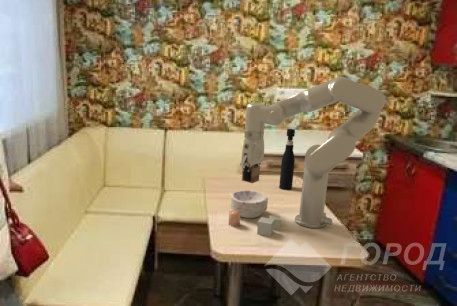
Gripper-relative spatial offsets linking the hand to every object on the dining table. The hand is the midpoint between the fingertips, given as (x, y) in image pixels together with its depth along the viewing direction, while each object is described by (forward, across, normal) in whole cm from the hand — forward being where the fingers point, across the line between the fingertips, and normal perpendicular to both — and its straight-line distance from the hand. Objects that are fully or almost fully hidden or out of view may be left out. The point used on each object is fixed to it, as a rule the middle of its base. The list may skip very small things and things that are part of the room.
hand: (250, 178), depth 170 cm
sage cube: (+16, -4, -14) cm, 22 cm away
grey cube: (+16, -11, -15) cm, 24 cm away
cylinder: (+16, -12, -2) cm, 20 cm away
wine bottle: (+16, +44, +6) cm, 47 cm away
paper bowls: (+16, +1, 0) cm, 16 cm away
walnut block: (+1, 0, 0) cm, 1 cm away
